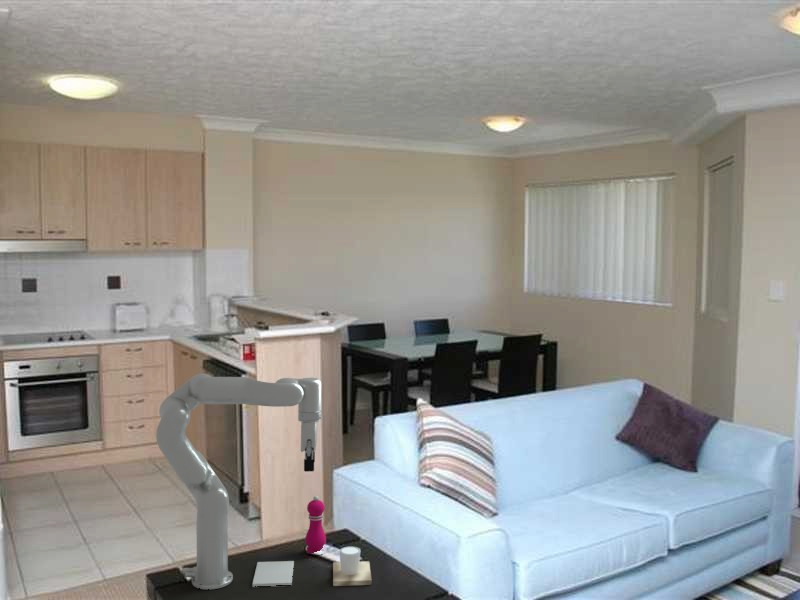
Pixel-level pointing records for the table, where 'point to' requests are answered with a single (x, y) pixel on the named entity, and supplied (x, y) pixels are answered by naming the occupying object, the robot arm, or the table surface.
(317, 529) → the pepper mill
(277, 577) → the grey tile
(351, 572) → the shot glass
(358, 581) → the birch board
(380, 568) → the table surface
